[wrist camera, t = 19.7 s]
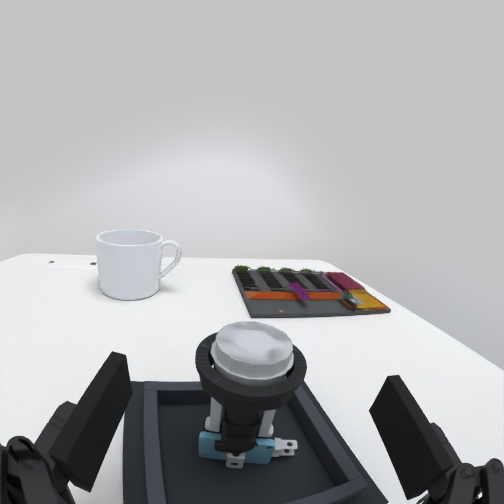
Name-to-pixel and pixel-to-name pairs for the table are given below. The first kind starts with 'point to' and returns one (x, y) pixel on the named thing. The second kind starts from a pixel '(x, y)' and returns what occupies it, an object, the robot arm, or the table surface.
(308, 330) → the table surface
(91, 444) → the robot arm
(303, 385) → the docking pad
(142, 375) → the table surface
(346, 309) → the circuit board
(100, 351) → the table surface
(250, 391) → the push button
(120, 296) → the mug
